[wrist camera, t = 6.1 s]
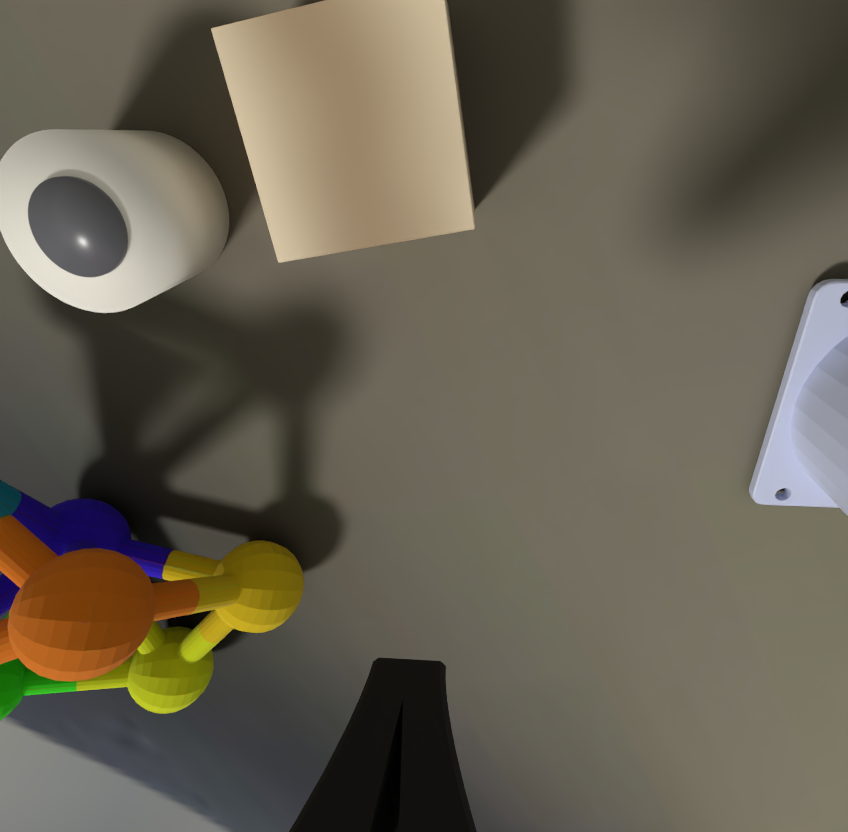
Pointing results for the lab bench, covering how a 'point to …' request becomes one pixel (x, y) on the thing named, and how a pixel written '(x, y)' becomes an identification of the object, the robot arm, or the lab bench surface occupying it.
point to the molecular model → (122, 604)
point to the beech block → (351, 123)
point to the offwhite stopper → (110, 214)
